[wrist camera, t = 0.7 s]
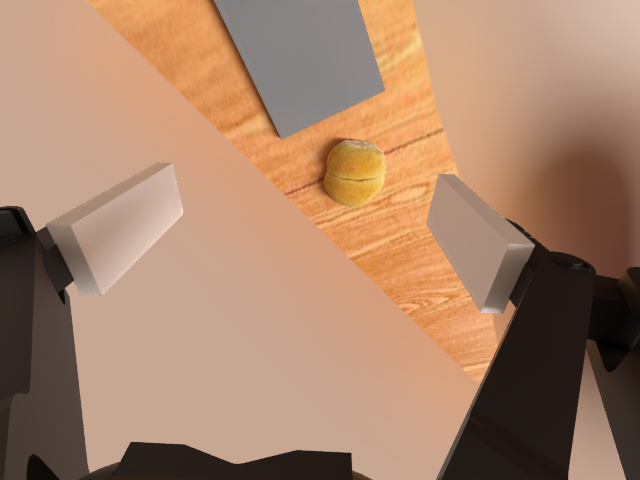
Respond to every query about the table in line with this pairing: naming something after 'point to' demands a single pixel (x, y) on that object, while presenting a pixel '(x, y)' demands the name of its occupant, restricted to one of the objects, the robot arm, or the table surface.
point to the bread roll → (354, 172)
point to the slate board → (304, 57)
